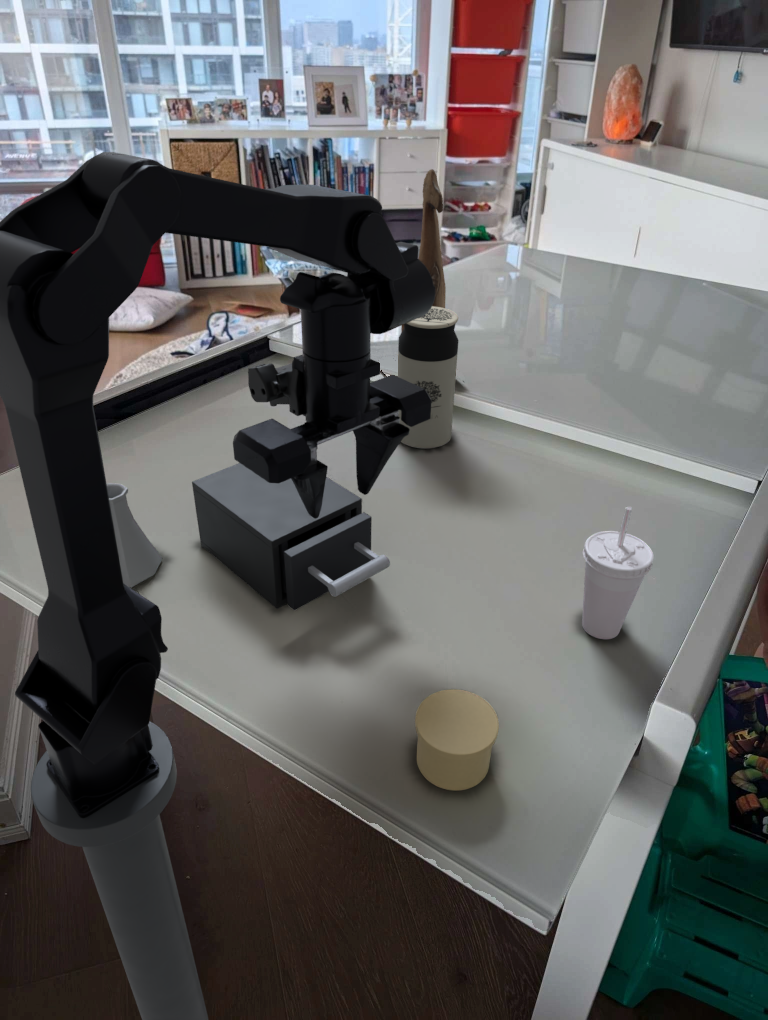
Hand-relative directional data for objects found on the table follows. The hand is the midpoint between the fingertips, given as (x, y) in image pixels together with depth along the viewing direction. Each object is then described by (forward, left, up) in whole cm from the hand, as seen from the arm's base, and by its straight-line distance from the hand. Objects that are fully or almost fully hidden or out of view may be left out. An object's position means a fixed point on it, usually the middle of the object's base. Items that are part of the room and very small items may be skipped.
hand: (338, 504), depth 72 cm
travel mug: (+32, +20, -12) cm, 39 cm away
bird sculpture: (+46, +34, -12) cm, 59 cm away
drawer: (0, +5, -11) cm, 12 cm away
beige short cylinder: (-6, -21, -12) cm, 25 cm away
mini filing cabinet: (0, +11, -12) cm, 16 cm away
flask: (-14, +20, -12) cm, 27 cm away
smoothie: (+17, -20, -12) cm, 29 cm away
